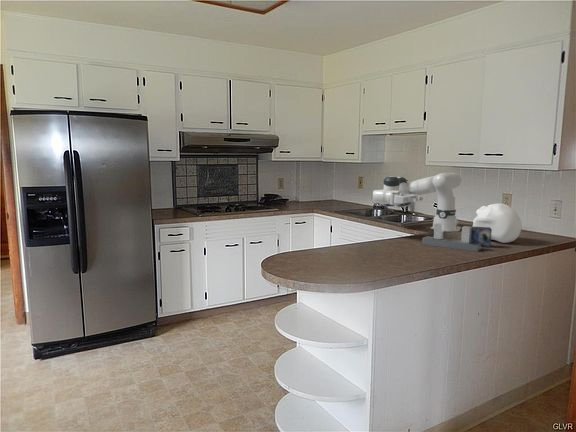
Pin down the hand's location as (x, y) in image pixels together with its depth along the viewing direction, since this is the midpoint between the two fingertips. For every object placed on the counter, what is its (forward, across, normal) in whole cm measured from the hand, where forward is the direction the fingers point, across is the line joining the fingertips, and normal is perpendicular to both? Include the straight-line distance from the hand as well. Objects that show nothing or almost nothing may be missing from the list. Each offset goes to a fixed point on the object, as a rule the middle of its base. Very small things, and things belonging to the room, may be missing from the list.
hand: (419, 199), depth 239 cm
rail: (+19, 0, -25) cm, 32 cm away
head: (+33, -34, -25) cm, 54 cm away
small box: (+31, -12, -25) cm, 42 cm away
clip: (+12, 0, -25) cm, 28 cm away
